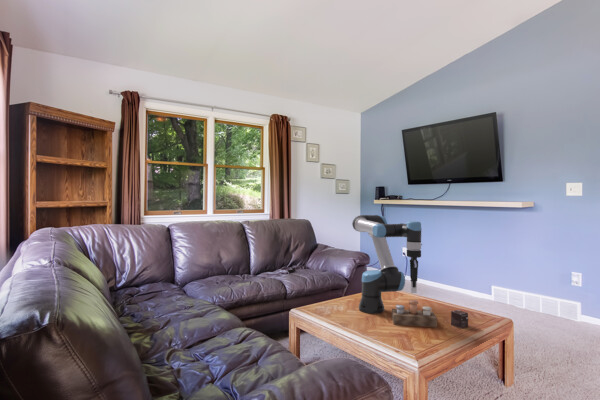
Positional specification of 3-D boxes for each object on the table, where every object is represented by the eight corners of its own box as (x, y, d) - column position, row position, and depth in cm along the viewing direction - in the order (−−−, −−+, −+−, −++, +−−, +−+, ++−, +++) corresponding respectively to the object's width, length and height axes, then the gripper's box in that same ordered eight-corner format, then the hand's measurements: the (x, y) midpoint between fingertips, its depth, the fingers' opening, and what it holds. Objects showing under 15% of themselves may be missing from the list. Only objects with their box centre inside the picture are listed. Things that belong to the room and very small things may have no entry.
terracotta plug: (409, 316, 180) (409, 302, 180) (408, 313, 184) (408, 299, 184) (418, 316, 179) (418, 302, 179) (417, 313, 183) (417, 300, 183)
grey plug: (396, 320, 181) (396, 307, 181) (395, 318, 185) (395, 304, 185) (405, 321, 180) (405, 307, 180) (403, 318, 184) (404, 305, 185)
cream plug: (423, 322, 178) (423, 308, 178) (421, 319, 183) (421, 306, 183) (432, 323, 177) (432, 309, 177) (430, 320, 182) (430, 306, 182)
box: (460, 328, 172) (460, 314, 173) (450, 324, 178) (450, 311, 178) (468, 326, 175) (468, 312, 175) (458, 323, 181) (458, 309, 181)
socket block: (393, 324, 178) (393, 315, 178) (391, 317, 189) (391, 308, 189) (436, 327, 174) (436, 317, 174) (432, 320, 185) (432, 311, 185)
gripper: (423, 251, 175) (423, 296, 174) (418, 248, 187) (418, 289, 187) (408, 251, 176) (408, 295, 176) (405, 247, 189) (405, 289, 189)
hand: (413, 292), depth 182 cm, fingers closed
